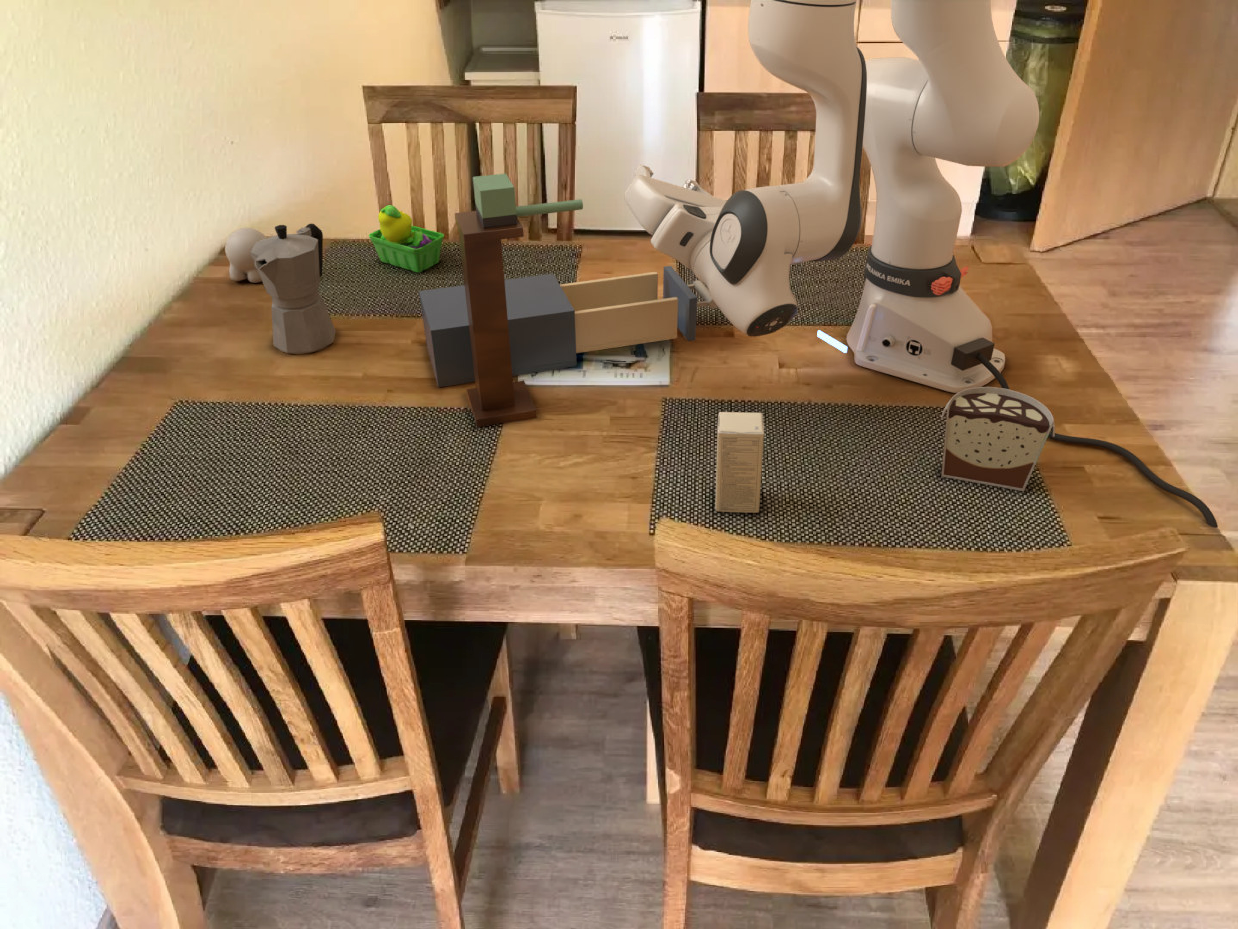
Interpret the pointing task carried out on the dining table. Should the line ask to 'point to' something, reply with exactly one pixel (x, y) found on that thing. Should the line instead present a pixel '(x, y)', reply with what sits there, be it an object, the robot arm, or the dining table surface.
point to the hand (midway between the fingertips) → (664, 176)
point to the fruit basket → (405, 241)
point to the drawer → (634, 309)
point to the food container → (994, 436)
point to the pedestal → (490, 324)
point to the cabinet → (533, 323)
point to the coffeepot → (295, 288)
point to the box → (739, 462)
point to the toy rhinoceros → (243, 254)
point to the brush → (509, 202)
